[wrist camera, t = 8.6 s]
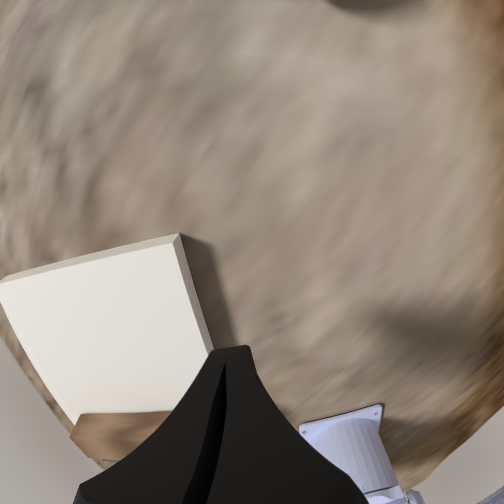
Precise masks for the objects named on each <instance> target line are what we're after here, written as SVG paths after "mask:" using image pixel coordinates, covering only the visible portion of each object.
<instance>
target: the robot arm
mask: <svg viewBox="0 0 504 504" xmlns="http://www.w3.org/2000/svg"><path fill="white" fill-rule="evenodd" d="M381 413H382V406H381V405H379V404H378V405H374V406H371V407H367V408H364V409H361V410H357V411H354V412H350V413H346V414H343V415H339V416H335V417H331V418H326V419H322V420H318V421H313V422H309V423H304V424H301V425H300V426H299V432H300V434H299V433H298V432H297V431H296V430H295V429H294V427H293V426H292V425H291V424H290V423H289V422H288V420H287V419H286V418H285V417H284V416H283V414H282V413H281V412H280V410H279V409H278V408H277V406H276V405H275V403H274V402H273V400H272V399H271V397H270V396H269V394H268V393H267V391H266V389H265V388H264V386H263V384H262V382H261V380H260V378H259V376H258V374H257V372H256V368H255V364H254V360H253V357H252V353H251V349H250V347H249V346H247V345H242V346H236V347H230V348H223V349H217V350H212V351H211V352H210V353H209V355H208V357H207V358H206V360H205V362H204V364H203V366H202V367H201V369H200V371H199V372H198V374H197V376H196V377H195V379H194V381H193V382H192V384H191V385H190V387H189V388H188V390H187V391H186V393H185V394H184V396H183V397H182V398H181V400H180V401H179V403H178V404H177V405H176V407H175V408H174V409H173V411H172V412H171V413H170V414H169V416H168V417H167V418H166V419H165V420H164V421H163V423H162V424H161V425H160V426H159V427H158V428H157V429H156V430H155V431H154V432H153V433H152V434H151V435H150V436H149V437H148V438H147V439H146V440H145V441H143V442H142V443H141V444H140V445H139V446H138V447H137V448H136V449H134V450H133V451H132V452H131V453H129V454H128V455H127V456H126V457H124V458H123V459H122V460H120V461H119V462H117V463H116V464H114V465H113V466H111V467H110V468H108V469H107V470H105V471H103V472H102V473H100V474H98V475H96V476H95V477H93V478H91V479H89V480H87V481H85V482H83V483H81V484H80V485H79V488H78V490H77V493H76V496H75V500H74V502H73V504H408V503H409V504H425V503H424V500H423V498H422V496H421V494H420V492H418V491H415V490H414V491H413V490H412V489H409V490H408V491H406V495H407V498H408V503H407V501H406V498H405V496H404V493H403V490H402V488H401V485H399V483H398V481H397V478H396V475H395V473H394V470H393V468H392V465H391V463H390V460H389V458H388V456H387V453H386V451H385V448H384V446H383V443H382V441H381V439H380V436H379V434H378V432H379V426H380V420H381ZM477 504H504V486H503V487H502V488H500V489H499V490H497V491H496V492H494V493H493V494H491V495H490V496H488V497H487V498H485V499H484V500H482V501H481V502H479V503H477Z"/></svg>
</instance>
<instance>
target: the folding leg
mask: <svg viewBox="0 0 504 504" xmlns="http://www.w3.org/2000/svg"><path fill="white" fill-rule="evenodd" d="M171 412H172V411H167V412H153V413H133V414H80V416H79V418H78V420H77V422H76V425H75V427H74V429H73V431H72V433H71V435H70V438H71V440H72V441H73V442H74V443H75V444H76V445H77V446H78V447H79V448H80V449H81V450H82V451H83V452H84V454H85V455H86V456H87V457H89V458H96V459H106V460H119V461H120V460H122V459H123V458H124V457H126V456H127V455H128V454H129V453H131V452H132V451H133V450H134V449H136V448H137V447H138V446H139V445H140V444H141V443H142V442H143V441H145V440H146V439H147V438H148V437H149V436H150V435H151V434H152V433H153V432H154V431H155V430H156V429H157V428H158V427H159V426H160V425H161V424H162V423H163V421H164V420H165V419H166V418H167V417H168V416H169V414H170V413H171Z"/></svg>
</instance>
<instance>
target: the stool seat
mask: <svg viewBox="0 0 504 504" xmlns="http://www.w3.org/2000/svg"><path fill="white" fill-rule="evenodd" d="M0 302H1V304H2V306H3V308H4V311H5V313H6V315H7V317H8V319H9V321H10V323H11V325H12V327H13V329H14V331H15V333H16V335H17V337H18V339H19V341H20V343H21V345H22V346H23V348H24V350H25V352H26V354H27V355H28V357H29V359H30V361H31V362H32V364H33V366H34V367H35V369H36V371H37V372H38V374H39V375H40V377H41V379H42V380H43V382H44V383H45V385H46V386H47V388H48V389H49V391H50V392H51V394H52V395H53V397H54V398H55V400H56V401H57V402H58V404H59V405H60V407H61V408H62V409H63V411H64V412H65V413H66V415H67V416H68V417H69V419H70V420H71V421H72V423H73V424H74V425H76V422H77V420H78V418H79V416H80V414H133V413H153V412H167V411H173V409H174V408H175V407H176V405H177V404H178V403H179V401H180V400H181V398H182V397H183V396H184V394H185V393H186V391H187V390H188V388H189V387H190V385H191V384H192V382H193V381H194V379H195V377H196V376H197V374H198V372H199V371H200V369H201V367H202V366H203V364H204V362H205V360H206V358H207V357H208V355H209V353H210V352H211V351H212V350H214V347H213V344H212V341H211V338H210V335H209V332H208V329H207V326H206V323H205V319H204V316H203V313H202V310H201V307H200V303H199V300H198V297H197V293H196V290H195V287H194V283H193V280H192V276H191V273H190V270H189V266H188V263H187V259H186V255H185V252H184V248H183V244H182V241H181V237H180V233H177V234H172V235H168V236H163V237H159V238H155V239H150V240H146V241H141V242H137V243H133V244H129V245H124V246H120V247H116V248H112V249H108V250H104V251H99V252H95V253H91V254H87V255H83V256H79V257H75V258H71V259H67V260H64V261H60V262H56V263H52V264H48V265H44V266H41V267H37V268H33V269H29V270H26V271H22V272H18V273H15V274H11V275H8V276H6V277H5V278H3V279H2V280H0ZM102 460H103V461H111V462H119V460H106V459H102Z"/></svg>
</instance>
